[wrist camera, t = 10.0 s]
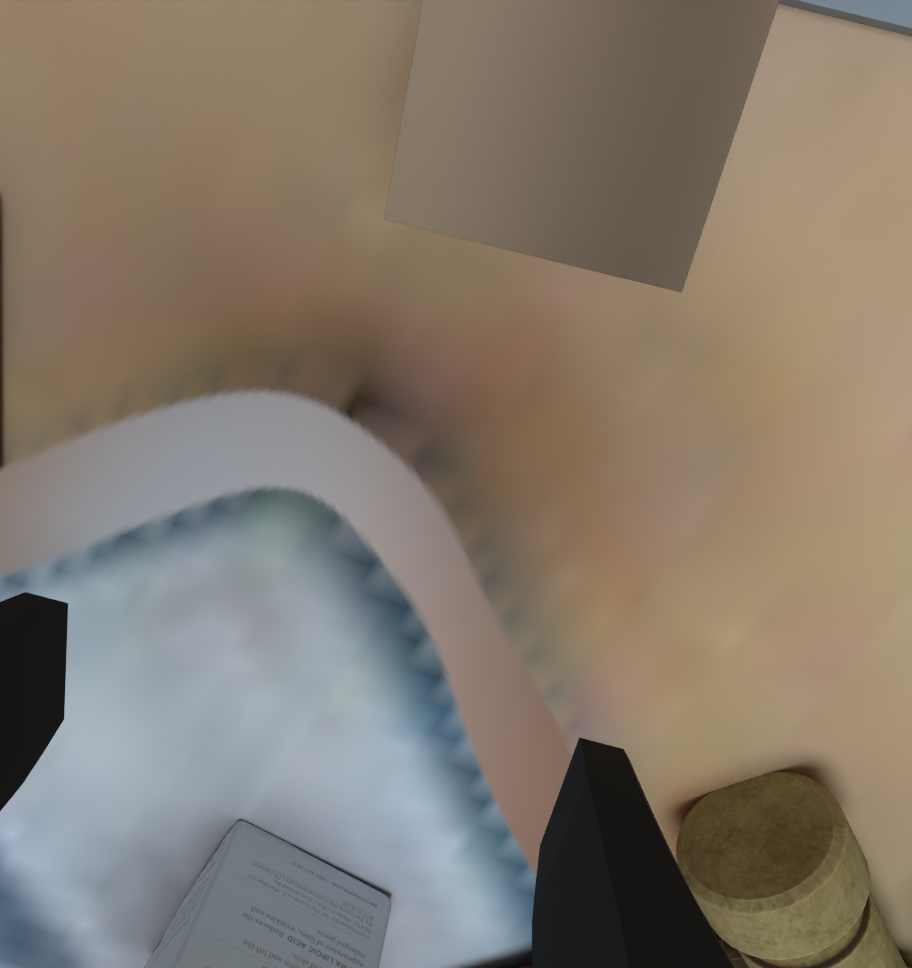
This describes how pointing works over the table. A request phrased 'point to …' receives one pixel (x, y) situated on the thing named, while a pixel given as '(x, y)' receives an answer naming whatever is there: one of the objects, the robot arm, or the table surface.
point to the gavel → (783, 877)
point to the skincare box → (273, 911)
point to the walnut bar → (575, 126)
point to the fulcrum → (864, 12)
